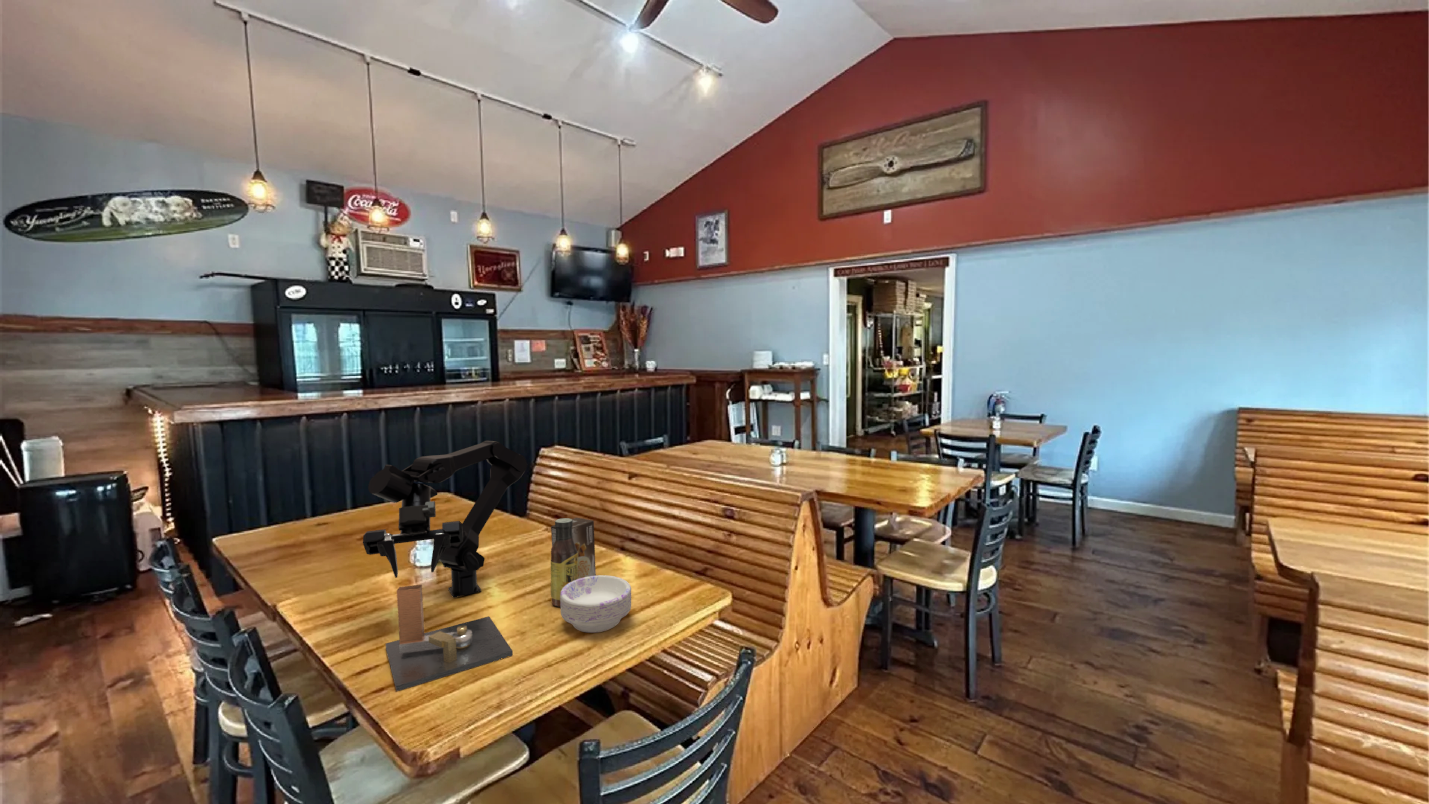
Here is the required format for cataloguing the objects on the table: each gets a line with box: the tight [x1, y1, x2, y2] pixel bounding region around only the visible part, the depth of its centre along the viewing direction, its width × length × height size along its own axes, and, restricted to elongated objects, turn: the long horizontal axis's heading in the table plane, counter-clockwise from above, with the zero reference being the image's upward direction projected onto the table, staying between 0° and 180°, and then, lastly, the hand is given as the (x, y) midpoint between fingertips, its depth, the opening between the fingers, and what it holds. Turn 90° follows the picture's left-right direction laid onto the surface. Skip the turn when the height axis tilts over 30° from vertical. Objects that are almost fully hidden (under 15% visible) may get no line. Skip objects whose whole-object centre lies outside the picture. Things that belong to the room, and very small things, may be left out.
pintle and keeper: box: [428, 625, 470, 663], centre depth 110 cm, size 7×8×5 cm
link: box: [396, 584, 472, 654], centre depth 111 cm, size 13×4×12 cm, turn 105°
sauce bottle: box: [550, 517, 578, 608], centre depth 133 cm, size 7×6×20 cm
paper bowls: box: [560, 574, 632, 634], centre depth 124 cm, size 15×15×8 cm
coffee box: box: [550, 517, 597, 579], centre depth 144 cm, size 9×6×16 cm
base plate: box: [385, 616, 514, 692], centre depth 112 cm, size 18×20×1 cm
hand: (414, 574), depth 117 cm, fingers open, 6 cm apart
